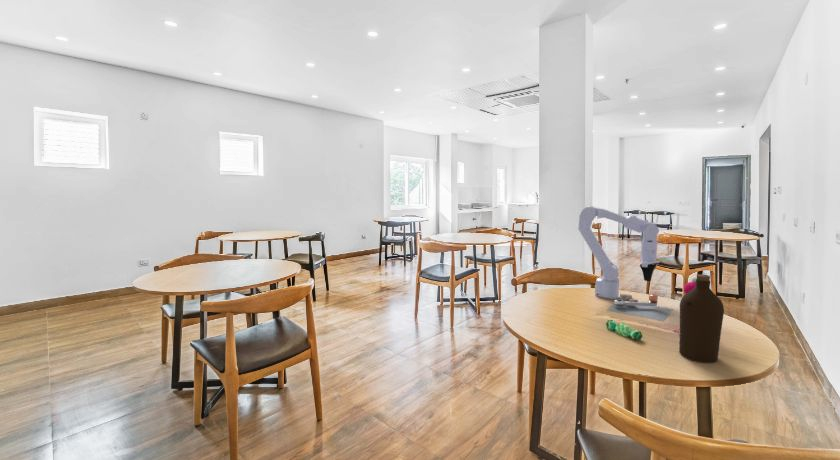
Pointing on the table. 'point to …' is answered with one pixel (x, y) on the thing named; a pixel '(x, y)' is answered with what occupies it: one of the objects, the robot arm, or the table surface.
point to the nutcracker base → (641, 310)
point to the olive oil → (700, 322)
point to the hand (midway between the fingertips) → (647, 280)
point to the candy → (623, 330)
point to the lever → (635, 302)
